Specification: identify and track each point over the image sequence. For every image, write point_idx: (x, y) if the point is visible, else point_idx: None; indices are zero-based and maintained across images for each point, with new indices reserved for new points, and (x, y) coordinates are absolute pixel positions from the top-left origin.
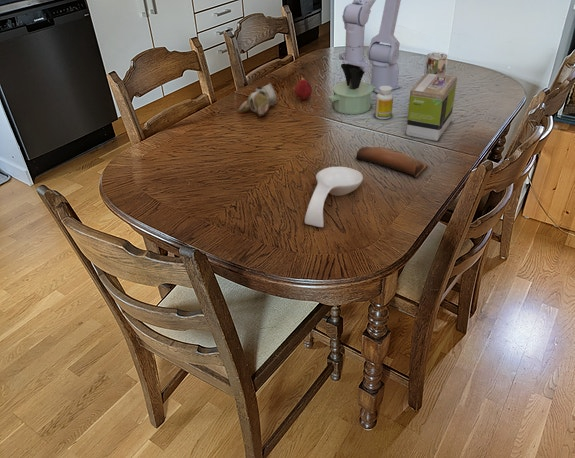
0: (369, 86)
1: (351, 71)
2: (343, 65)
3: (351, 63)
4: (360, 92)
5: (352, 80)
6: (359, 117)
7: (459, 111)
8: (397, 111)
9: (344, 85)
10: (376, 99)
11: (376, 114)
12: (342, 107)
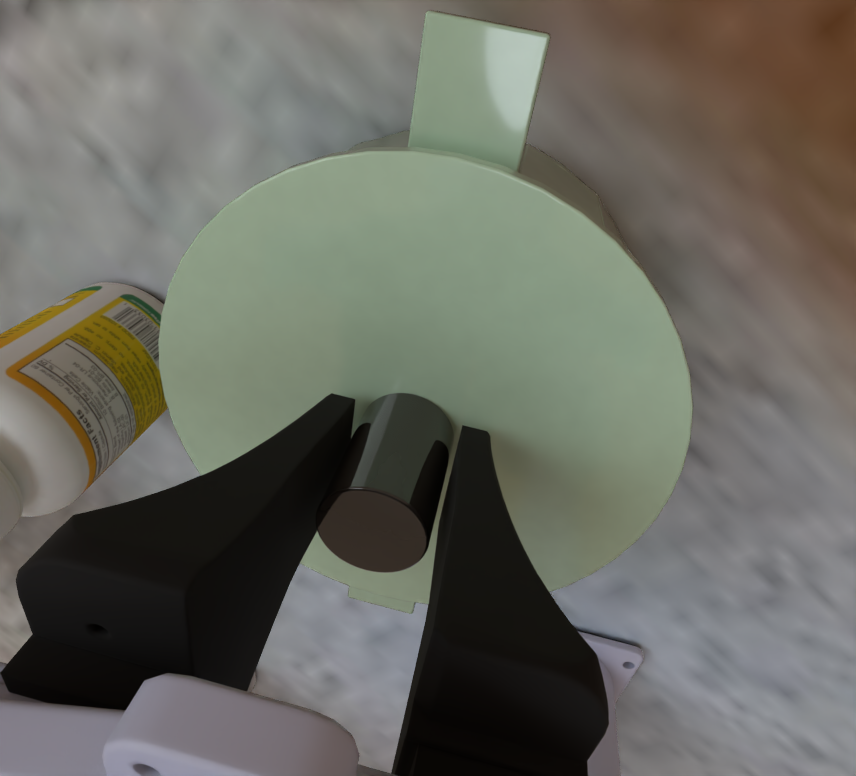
0: (322, 553)
1: (137, 538)
2: (498, 682)
3: (34, 739)
4: (238, 387)
5: (284, 452)
6: (212, 184)
7: (20, 617)
8: (161, 461)
9: (555, 435)
10: (30, 370)
11: (111, 294)
12: (380, 143)
